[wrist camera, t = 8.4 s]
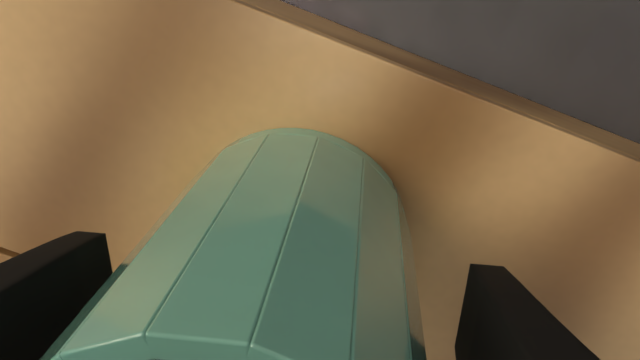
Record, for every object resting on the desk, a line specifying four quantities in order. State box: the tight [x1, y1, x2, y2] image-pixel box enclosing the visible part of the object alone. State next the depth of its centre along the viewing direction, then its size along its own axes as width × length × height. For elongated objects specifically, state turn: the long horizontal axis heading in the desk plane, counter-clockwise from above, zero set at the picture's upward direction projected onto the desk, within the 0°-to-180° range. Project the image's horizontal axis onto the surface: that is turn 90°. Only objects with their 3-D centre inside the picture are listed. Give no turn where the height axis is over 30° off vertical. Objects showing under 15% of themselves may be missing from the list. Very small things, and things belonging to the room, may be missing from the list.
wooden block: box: [0, 0, 640, 360], centre depth 13 cm, size 20×9×3 cm, turn 70°
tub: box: [40, 128, 427, 360], centre depth 9 cm, size 5×5×6 cm
